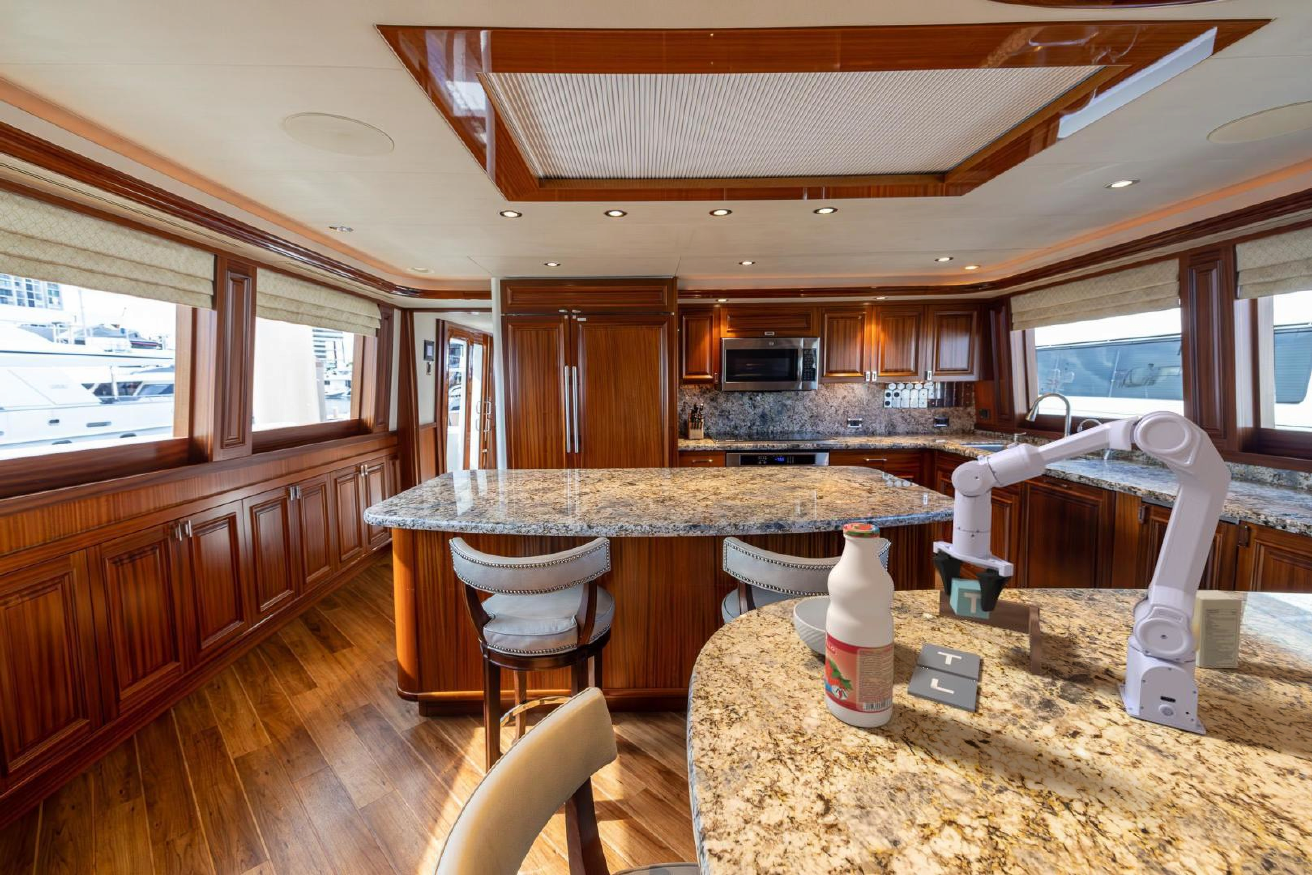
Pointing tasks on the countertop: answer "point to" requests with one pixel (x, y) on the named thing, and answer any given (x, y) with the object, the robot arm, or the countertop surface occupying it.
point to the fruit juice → (860, 632)
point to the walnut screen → (1007, 623)
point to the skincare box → (1216, 629)
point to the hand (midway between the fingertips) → (968, 602)
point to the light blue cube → (967, 598)
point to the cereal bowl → (812, 622)
